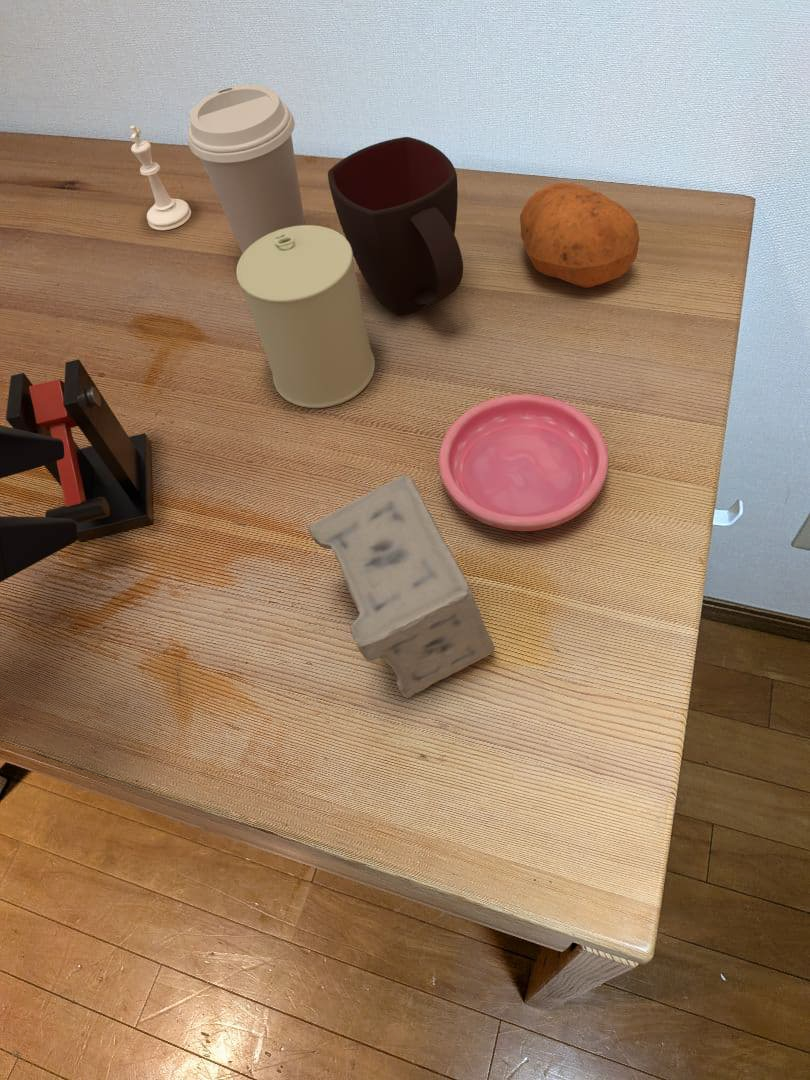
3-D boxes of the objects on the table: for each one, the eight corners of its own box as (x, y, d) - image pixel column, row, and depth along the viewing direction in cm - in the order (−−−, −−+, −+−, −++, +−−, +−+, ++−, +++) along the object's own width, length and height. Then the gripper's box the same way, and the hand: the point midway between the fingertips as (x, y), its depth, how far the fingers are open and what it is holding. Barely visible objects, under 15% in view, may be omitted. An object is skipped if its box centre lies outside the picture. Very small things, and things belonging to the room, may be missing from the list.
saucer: (621, 438, 58) (626, 410, 56) (580, 566, 52) (584, 542, 50) (472, 406, 62) (470, 378, 59) (418, 522, 56) (413, 498, 54)
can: (352, 322, 70) (326, 205, 60) (391, 384, 65) (370, 266, 55) (261, 358, 68) (219, 244, 58) (293, 423, 63) (253, 311, 53)
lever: (114, 518, 53) (100, 513, 51) (59, 531, 53) (43, 527, 51) (86, 386, 55) (71, 375, 52) (33, 399, 54) (16, 389, 52)
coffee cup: (327, 225, 78) (294, 74, 66) (320, 283, 73) (282, 132, 61) (240, 233, 79) (191, 86, 67) (226, 291, 74) (170, 143, 62)
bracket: (153, 524, 59) (83, 424, 49) (79, 542, 59) (-6, 445, 49) (150, 441, 64) (86, 336, 54) (82, 458, 64) (6, 355, 54)
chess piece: (142, 231, 82) (101, 141, 74) (156, 204, 84) (118, 114, 76) (183, 230, 81) (147, 139, 73) (196, 203, 84) (162, 112, 75)
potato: (554, 317, 67) (559, 244, 61) (500, 250, 73) (500, 177, 67) (645, 284, 68) (659, 209, 62) (584, 220, 74) (591, 146, 68)
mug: (424, 246, 75) (411, 126, 65) (502, 320, 67) (502, 198, 57) (338, 287, 73) (311, 169, 63) (409, 367, 65) (392, 249, 55)
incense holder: (334, 593, 54) (300, 510, 45) (439, 550, 55) (426, 460, 46) (382, 712, 48) (355, 644, 40) (498, 662, 49) (496, 584, 41)
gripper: (-510, 424, 22) (73, 413, 28) (-313, 267, 36) (47, 285, 42) (-367, 704, 27) (90, 639, 34) (-245, 474, 41) (62, 460, 48)
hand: (69, 485), depth 39 cm, fingers open, 9 cm apart
